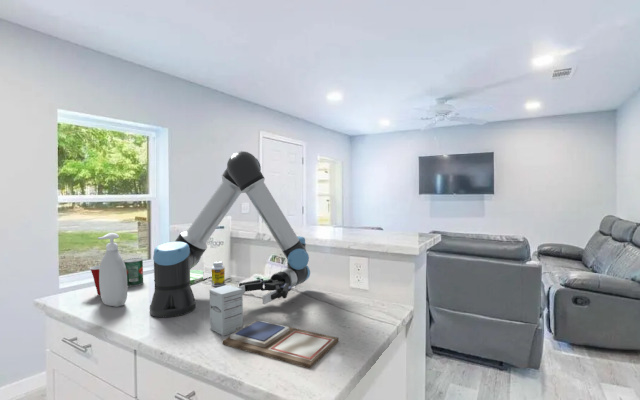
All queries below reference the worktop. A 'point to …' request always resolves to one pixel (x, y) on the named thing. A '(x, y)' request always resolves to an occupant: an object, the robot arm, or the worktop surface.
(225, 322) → the supplement box
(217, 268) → the supplement bottle
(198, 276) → the dish towel
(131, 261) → the canned tomato
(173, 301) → the robot arm
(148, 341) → the worktop surface
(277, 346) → the stamping board
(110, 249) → the soap bottle
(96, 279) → the plastic cup
